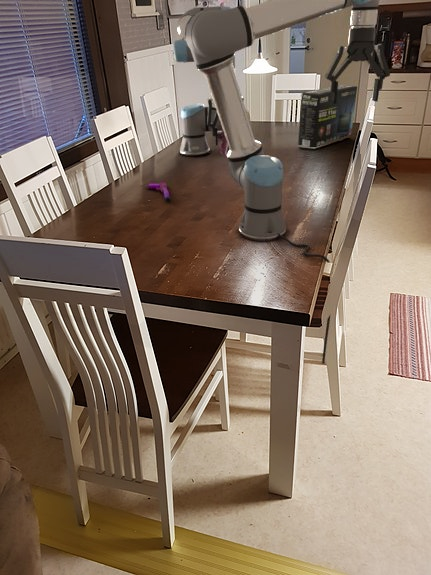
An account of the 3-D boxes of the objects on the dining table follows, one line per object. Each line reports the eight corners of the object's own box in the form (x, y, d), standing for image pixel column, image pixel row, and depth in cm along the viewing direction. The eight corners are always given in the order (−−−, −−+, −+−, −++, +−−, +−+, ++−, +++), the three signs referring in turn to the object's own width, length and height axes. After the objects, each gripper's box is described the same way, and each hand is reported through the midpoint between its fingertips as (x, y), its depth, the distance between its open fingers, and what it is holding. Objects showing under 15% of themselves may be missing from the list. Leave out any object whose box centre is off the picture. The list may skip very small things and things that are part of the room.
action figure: (235, 151, 187) (233, 119, 181) (237, 157, 180) (235, 125, 173) (215, 153, 187) (212, 121, 181) (216, 159, 180) (213, 127, 173)
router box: (314, 151, 231) (318, 94, 217) (296, 148, 237) (299, 92, 224) (352, 138, 251) (358, 85, 238) (335, 135, 258) (340, 83, 245)
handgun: (147, 187, 192) (147, 183, 191) (166, 185, 193) (165, 180, 192) (151, 204, 175) (150, 199, 174) (171, 201, 176) (170, 197, 175)
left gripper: (250, 78, 173) (250, 140, 185) (197, 80, 172) (200, 143, 184) (253, 80, 166) (253, 145, 178) (198, 83, 165) (201, 147, 177)
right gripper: (398, 24, 142) (387, 98, 153) (318, 28, 141) (313, 101, 152) (408, 25, 135) (396, 101, 146) (325, 29, 134) (319, 105, 145)
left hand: (226, 143), depth 181 cm, fingers closed on action figure, 7 cm apart
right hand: (354, 102), depth 149 cm, fingers open, 13 cm apart
